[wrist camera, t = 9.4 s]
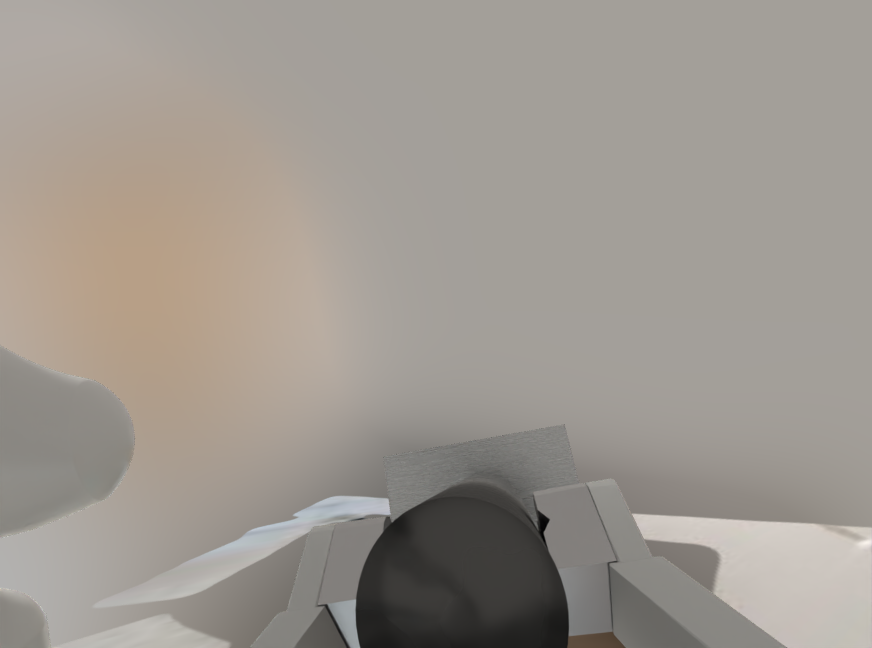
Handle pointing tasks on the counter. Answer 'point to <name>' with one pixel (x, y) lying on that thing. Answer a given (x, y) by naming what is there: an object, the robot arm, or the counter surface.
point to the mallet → (468, 548)
